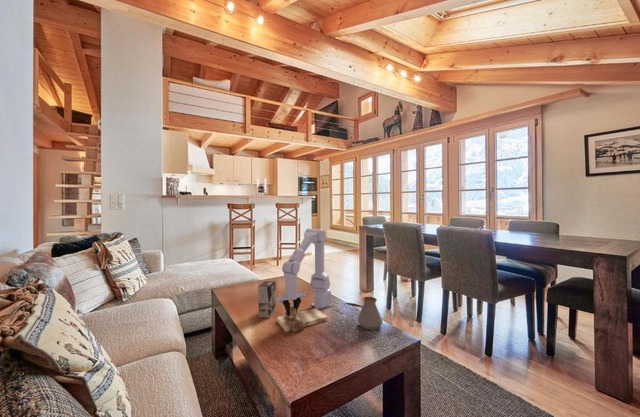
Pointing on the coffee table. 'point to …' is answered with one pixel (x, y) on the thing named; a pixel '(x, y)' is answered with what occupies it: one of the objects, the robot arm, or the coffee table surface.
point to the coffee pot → (368, 314)
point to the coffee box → (267, 298)
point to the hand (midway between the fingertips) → (291, 314)
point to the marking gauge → (294, 320)
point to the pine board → (303, 318)
